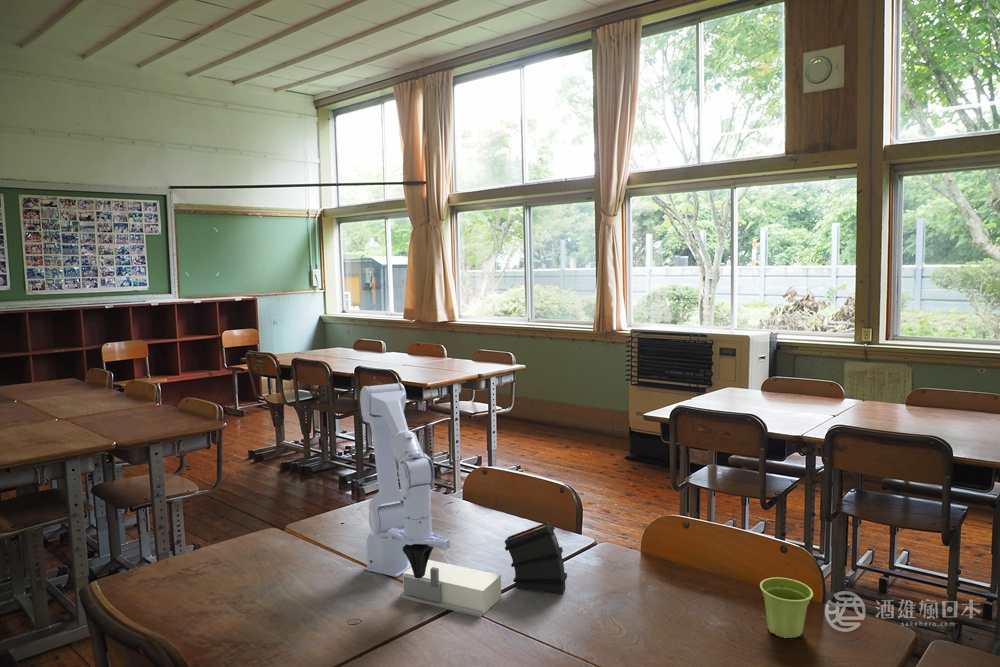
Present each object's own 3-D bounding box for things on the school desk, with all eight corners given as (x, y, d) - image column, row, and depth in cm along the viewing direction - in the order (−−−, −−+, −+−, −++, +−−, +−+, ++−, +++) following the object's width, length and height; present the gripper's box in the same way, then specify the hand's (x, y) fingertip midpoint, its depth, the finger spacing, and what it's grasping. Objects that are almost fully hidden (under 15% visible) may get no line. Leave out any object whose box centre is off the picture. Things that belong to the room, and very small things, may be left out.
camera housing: (399, 597, 149) (399, 575, 149) (423, 579, 157) (423, 558, 157) (480, 617, 140) (479, 593, 139) (501, 597, 148) (500, 575, 148)
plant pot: (806, 621, 136) (807, 579, 135) (816, 647, 127) (818, 602, 126) (756, 616, 138) (756, 575, 137) (763, 642, 129) (763, 598, 128)
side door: (402, 594, 148) (401, 562, 148) (406, 592, 149) (405, 560, 149) (438, 603, 144) (437, 570, 143) (441, 600, 145) (440, 568, 145)
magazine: (576, 591, 147) (546, 526, 148) (524, 607, 151) (495, 545, 152) (580, 583, 150) (551, 520, 151) (529, 600, 155) (501, 539, 156)
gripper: (378, 515, 145) (380, 577, 146) (436, 526, 138) (438, 591, 140) (398, 505, 151) (400, 564, 152) (454, 515, 144) (456, 576, 146)
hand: (419, 576), depth 146 cm, fingers closed
